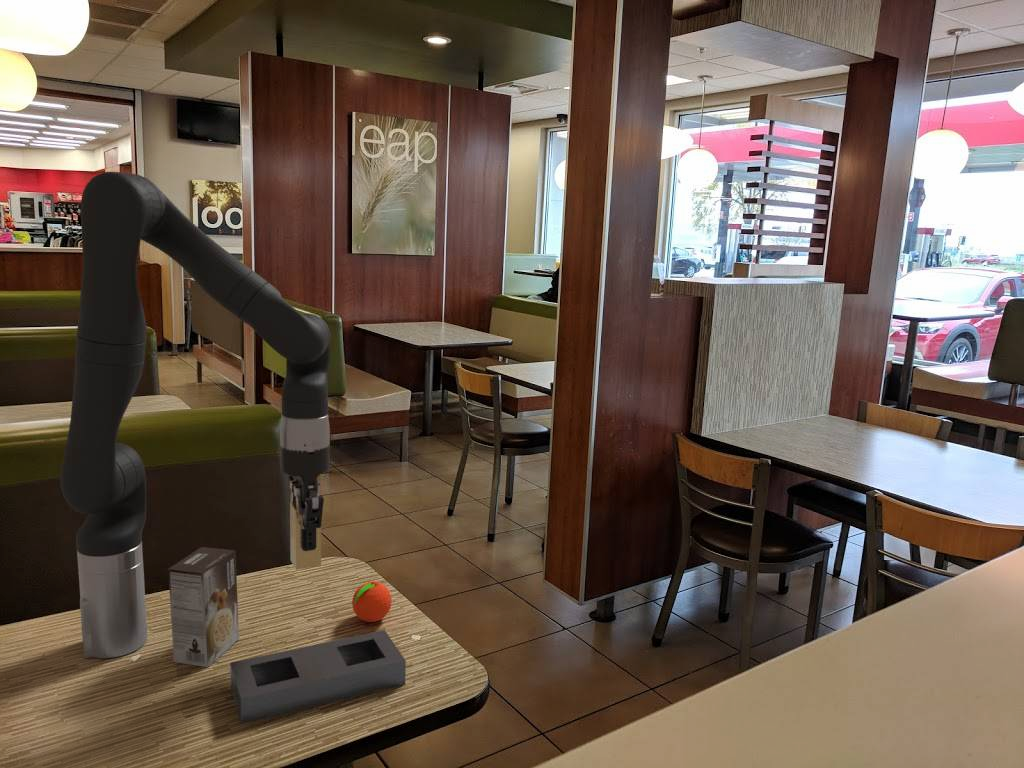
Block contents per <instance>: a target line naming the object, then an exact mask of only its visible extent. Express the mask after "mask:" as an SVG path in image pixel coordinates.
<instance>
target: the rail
mask: <svg viewBox="0 0 1024 768" xmlns="http://www.w3.org/2000/svg"><path fill="white" fill-rule="evenodd" d="M406 662H407V661H406V659H405V657H404V656H403V654H402V653H401V651H400V650H399V648H398V647H397V645H396V644H395V643H394V641H393V640H392V638H391V637H390V635H389V634H388V633H387V631H386V630H385V629H383V630H377V631H372V632H368V633H363V634H360V635H354V636H350V637H345V638H339V639H335V640H330V641H327V642H321V643H317V644H312V645H308V646H301V647H298V648H297V647H296V648H294V649H288V650H284V651H279V652H274V653H270V654H264V655H260V656H254V657H251V658H246V659H241V660H235V661H232V662H230V663H229V667H230V669H229V670H230V688H231V692H232V694H233V695H232V696H233V698H234V702H235V706H236V710H237V712H238V716H239V721H240V723H241V725H246V724H251V723H254V722H258V721H259V722H260V721H261V720H262V721H263V720H267V719H271V718H275V717H278V716H279V717H280V716H283V715H287V714H291V713H295V712H299V711H303V710H306V709H307V710H308V709H311V708H315V707H319V706H323V705H327V704H331V703H335V702H339V701H343V700H346V699H350V698H351V699H352V698H356V697H360V696H364V695H367V694H371V693H375V692H379V691H383V690H387V689H392V688H395V687H399V686H403V685H406Z"/></svg>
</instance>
